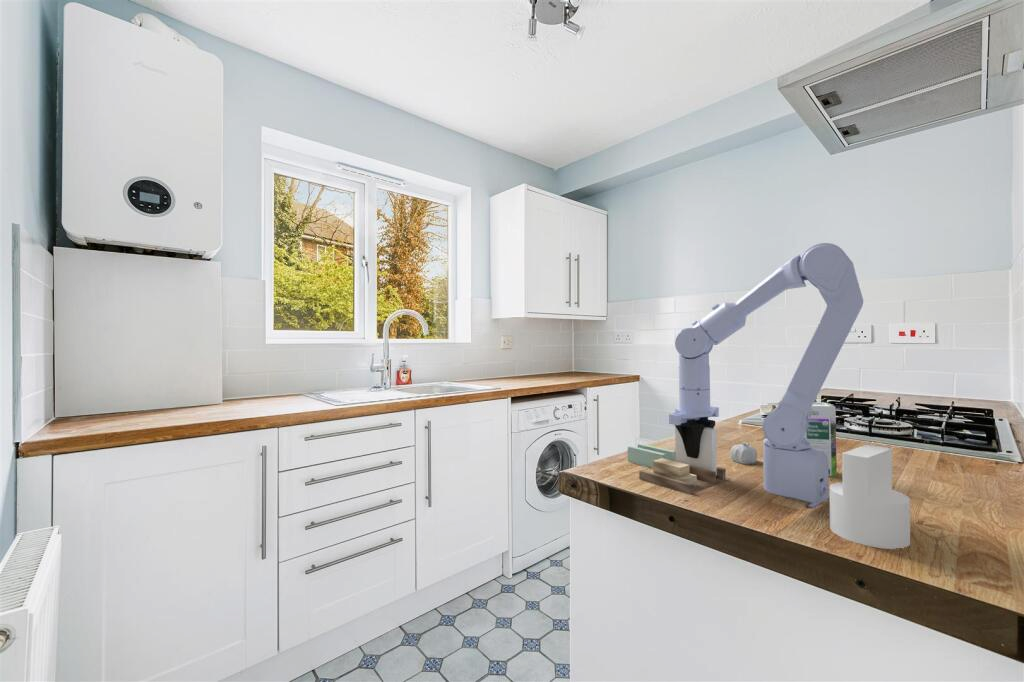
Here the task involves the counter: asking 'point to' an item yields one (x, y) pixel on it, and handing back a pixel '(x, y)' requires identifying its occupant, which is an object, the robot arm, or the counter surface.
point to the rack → (703, 481)
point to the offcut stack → (674, 470)
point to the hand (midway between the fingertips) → (695, 456)
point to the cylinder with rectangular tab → (869, 501)
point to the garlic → (743, 453)
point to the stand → (648, 454)
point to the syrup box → (823, 433)
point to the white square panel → (706, 452)
